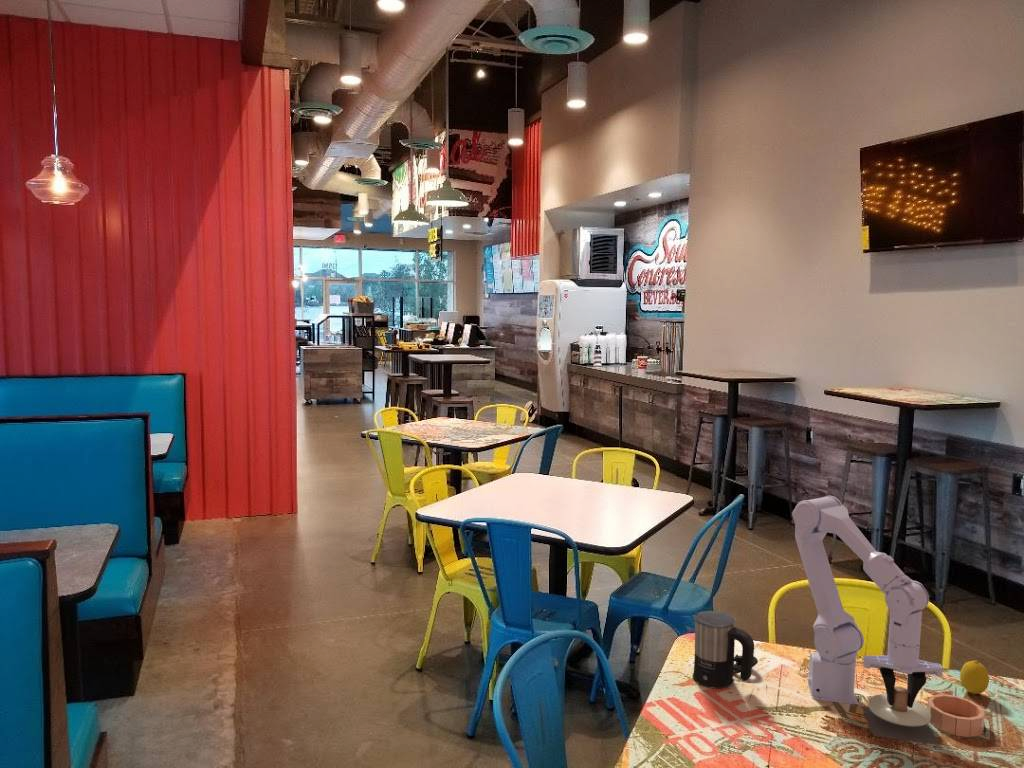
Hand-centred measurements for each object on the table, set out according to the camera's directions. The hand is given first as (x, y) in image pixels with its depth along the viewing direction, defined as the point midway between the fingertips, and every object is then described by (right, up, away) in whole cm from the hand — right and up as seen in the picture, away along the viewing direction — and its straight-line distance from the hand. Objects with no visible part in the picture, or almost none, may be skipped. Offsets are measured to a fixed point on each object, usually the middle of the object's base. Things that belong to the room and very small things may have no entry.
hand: (899, 704), depth 161 cm
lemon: (+23, -4, +14) cm, 27 cm away
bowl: (+12, -5, +1) cm, 13 cm away
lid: (0, -2, 0) cm, 2 cm away
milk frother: (-30, -2, +22) cm, 37 cm away
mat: (0, -5, 0) cm, 5 cm away
